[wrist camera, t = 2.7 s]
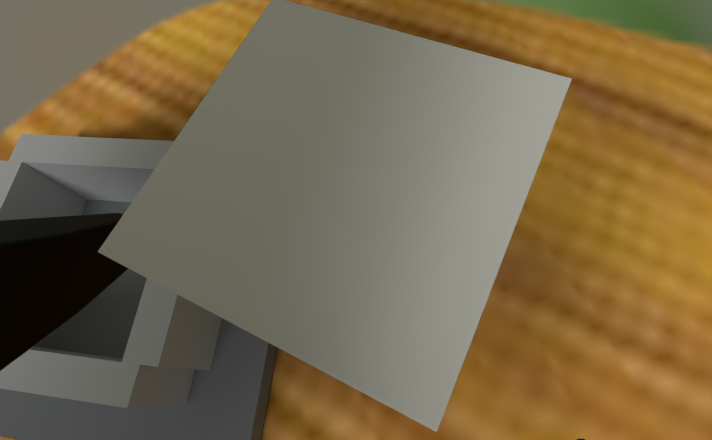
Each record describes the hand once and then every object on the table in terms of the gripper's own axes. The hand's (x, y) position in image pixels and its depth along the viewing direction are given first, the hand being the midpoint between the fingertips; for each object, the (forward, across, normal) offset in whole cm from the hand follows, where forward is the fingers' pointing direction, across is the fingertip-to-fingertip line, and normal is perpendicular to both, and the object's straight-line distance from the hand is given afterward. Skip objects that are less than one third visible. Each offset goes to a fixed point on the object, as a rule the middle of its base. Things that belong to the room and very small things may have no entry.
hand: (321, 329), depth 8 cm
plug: (+8, 0, +5) cm, 9 cm away
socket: (+6, +10, +8) cm, 14 cm away
